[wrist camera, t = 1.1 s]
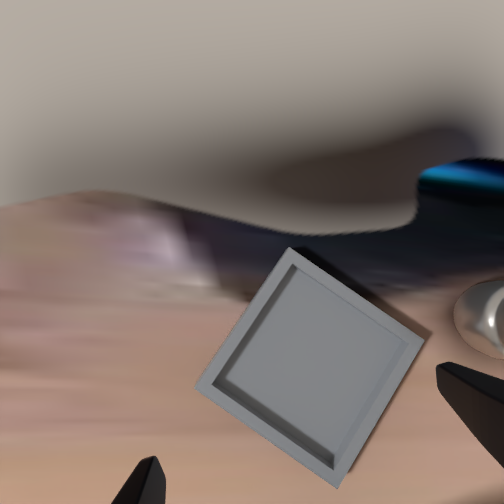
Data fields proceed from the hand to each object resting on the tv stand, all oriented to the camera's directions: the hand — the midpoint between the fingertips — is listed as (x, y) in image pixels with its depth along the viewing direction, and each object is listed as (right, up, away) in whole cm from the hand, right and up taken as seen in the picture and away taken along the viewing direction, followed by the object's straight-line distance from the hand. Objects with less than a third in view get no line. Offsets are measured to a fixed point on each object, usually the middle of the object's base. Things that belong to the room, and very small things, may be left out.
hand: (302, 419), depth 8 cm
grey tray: (+3, -4, +16) cm, 17 cm away
